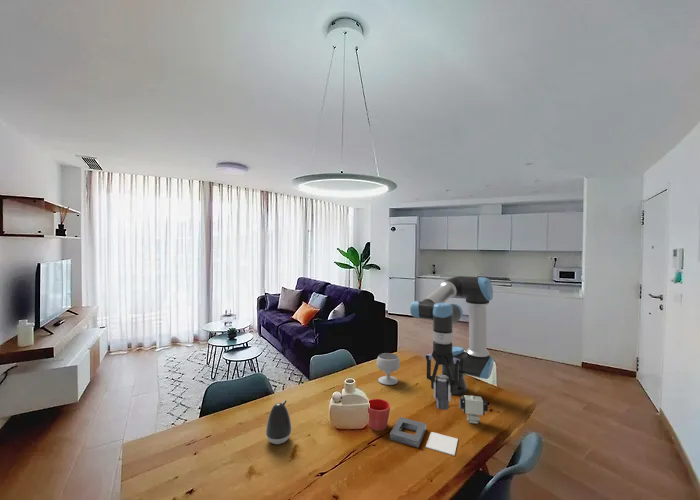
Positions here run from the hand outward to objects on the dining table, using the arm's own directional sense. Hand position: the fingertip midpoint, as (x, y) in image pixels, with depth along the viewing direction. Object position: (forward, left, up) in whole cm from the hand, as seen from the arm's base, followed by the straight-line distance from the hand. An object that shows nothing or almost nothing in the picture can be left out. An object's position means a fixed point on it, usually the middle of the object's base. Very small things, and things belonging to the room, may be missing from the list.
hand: (442, 398), depth 125 cm
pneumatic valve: (-23, +10, -19) cm, 31 cm away
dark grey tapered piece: (+28, -61, -19) cm, 70 cm away
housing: (0, -14, -18) cm, 23 cm away
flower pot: (0, -28, -19) cm, 34 cm away
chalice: (-46, -39, -19) cm, 63 cm away
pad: (0, 0, -18) cm, 18 cm away
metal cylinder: (0, 0, -3) cm, 3 cm away
